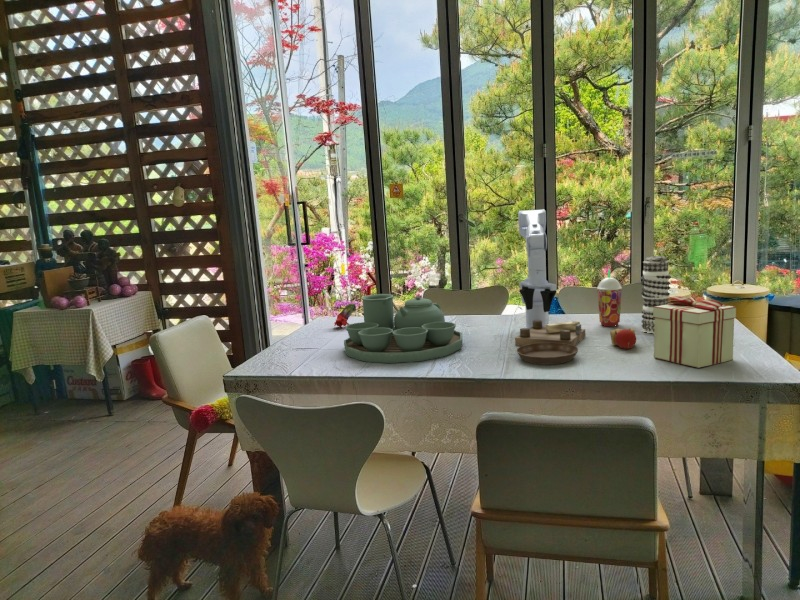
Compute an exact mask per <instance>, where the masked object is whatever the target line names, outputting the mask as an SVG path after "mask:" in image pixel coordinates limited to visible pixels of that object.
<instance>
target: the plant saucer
mask: <svg viewBox="0 0 800 600" xmlns="http://www.w3.org/2000/svg"><path fill="white" fill-rule="evenodd" d="M515 351H516V353H517V355H518V356H519V357H520V358H521V359H522V360H523V361H525V362H527V363H529V364H530V363H531V364H534V363H535V364H536V365H545V364H549V365H559V364H565V363H567V362H568V363H569V362H570V361H571V360H573V359H574V357H576V355H577V354H578V352H579V348H578V347H577V346H576V345H575V346H573V345H569V344H564V343H534V344H528V345H524V346H519V347H518V348H517V349H516V350H515Z"/></svg>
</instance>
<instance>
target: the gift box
mask: <svg viewBox="0 0 800 600" xmlns="http://www.w3.org/2000/svg"><path fill="white" fill-rule="evenodd" d="M667 300H668V302H670V303H668V304H667V305H661V306H655V307H653V317H654V318H655V323H654V334H653V337H654V338H653V339H654V340H653V358H655V359H658V360H663V361H667V362H671V363H675V364H680V365H684V366H689V367H692V368H699V369H700V368H703V367H708V366H714V365H718V364H722V363H726V362H728V361H729V362H730V361H733V359H734V337H735V335H734V334H735V333H734V332H735V331H734V330H735V319H736V318H737V307H736V306H733V305H726V304H723V303H722V302H720V301H717V300H714V299H705V300H703V299H701V300H698V301H696V300H695V301H694V300H693V299H692V298H690V297H687V296H684V295H683V296H681V295H677V296H676V295H675V296H672V297H669V298H668V299H667Z"/></svg>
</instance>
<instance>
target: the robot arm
mask: <svg viewBox="0 0 800 600" xmlns="http://www.w3.org/2000/svg"><path fill="white" fill-rule="evenodd" d="M517 216H518V217H517V218H518V219H517V220H518V222H517V223H518V232H519V235H520V236H522V237H523V238H524V240H525V247H526V248H525V249H526V256H527V272H528V275H527V276H528V277H526V279H524V280H523V281H519V282H518V283H519V284H518V286H519V288H520V289H519V290H518V291H519V294H520V296H521V303H522V304H525V305H524V306H525V327H523V328H531V327H532V326H533V320H542V327H546V324H550V322H549V319H550V317H549V315H550V314H549V312H550V311H551V307H552V302H553V300H554V298H555V295H556V294H557V283H551V282H549V281H548V280H547V266H546V265H547V264H546V263H547V262H546V260H547V258H546V251H547V249H548V239H547V237H548V236H547V234H546V227H547V211H546V210H545V209H544V208H542V209H532V210H531V209H529V210H519V211H518V212H517Z"/></svg>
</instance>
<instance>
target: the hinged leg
mask: <svg viewBox="0 0 800 600" xmlns="http://www.w3.org/2000/svg"><path fill="white" fill-rule="evenodd" d="M577 324H581V322H580V321H577V320H576V321H566V322H556V323H549V324H546V332H548V333H553V332H560V331H561V330H569V331H572V330H576V325H577Z"/></svg>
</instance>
